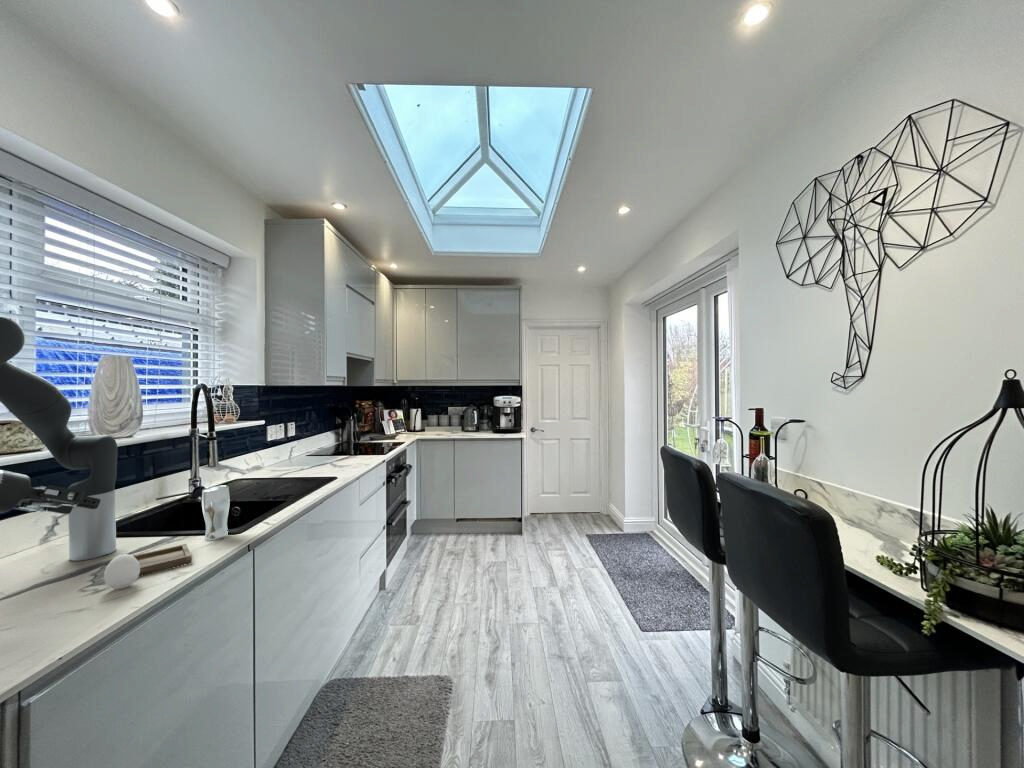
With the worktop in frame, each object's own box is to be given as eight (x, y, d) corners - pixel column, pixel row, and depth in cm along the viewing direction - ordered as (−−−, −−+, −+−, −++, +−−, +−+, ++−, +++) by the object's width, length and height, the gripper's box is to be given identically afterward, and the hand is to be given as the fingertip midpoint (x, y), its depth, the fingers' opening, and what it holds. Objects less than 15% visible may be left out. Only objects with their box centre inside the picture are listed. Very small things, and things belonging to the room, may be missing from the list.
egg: (113, 584, 96) (112, 552, 96) (145, 579, 98) (144, 547, 98) (98, 596, 91) (97, 562, 91) (132, 591, 93) (132, 557, 93)
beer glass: (226, 531, 131) (225, 484, 131) (233, 535, 127) (232, 487, 127) (199, 537, 126) (198, 489, 126) (206, 542, 121) (205, 492, 122)
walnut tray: (128, 564, 108) (127, 556, 108) (186, 550, 116) (186, 543, 116) (128, 579, 99) (128, 570, 99) (191, 563, 107) (191, 555, 107)
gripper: (19, 463, 77) (115, 485, 91) (-29, 474, 81) (70, 494, 94) (-4, 503, 73) (99, 520, 87) (-54, 513, 77) (53, 528, 90)
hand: (84, 507), depth 90 cm, fingers open, 8 cm apart
